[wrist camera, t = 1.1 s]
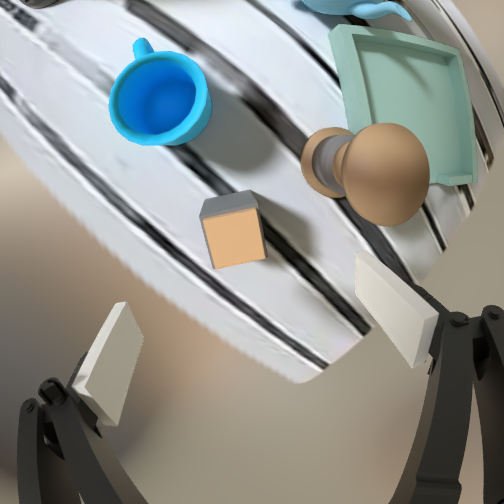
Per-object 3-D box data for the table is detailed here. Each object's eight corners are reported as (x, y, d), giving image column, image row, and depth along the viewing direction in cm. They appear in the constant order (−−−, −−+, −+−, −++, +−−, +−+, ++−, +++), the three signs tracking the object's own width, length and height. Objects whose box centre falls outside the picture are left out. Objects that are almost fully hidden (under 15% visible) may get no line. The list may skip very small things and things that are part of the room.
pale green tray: (327, 34, 22) (338, 23, 19) (443, 52, 23) (458, 49, 20) (356, 192, 30) (370, 198, 27) (461, 177, 31) (477, 182, 27)
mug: (223, 127, 26) (223, 119, 19) (153, 158, 27) (128, 163, 19) (185, 37, 22) (173, 5, 14) (118, 69, 22) (87, 49, 14)
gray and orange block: (204, 199, 29) (198, 218, 22) (249, 189, 29) (259, 205, 22) (215, 241, 31) (212, 273, 24) (258, 232, 31) (269, 260, 24)
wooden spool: (294, 131, 27) (339, 124, 16) (359, 125, 27) (425, 122, 16) (306, 201, 30) (351, 235, 19) (367, 190, 30) (430, 217, 19)
